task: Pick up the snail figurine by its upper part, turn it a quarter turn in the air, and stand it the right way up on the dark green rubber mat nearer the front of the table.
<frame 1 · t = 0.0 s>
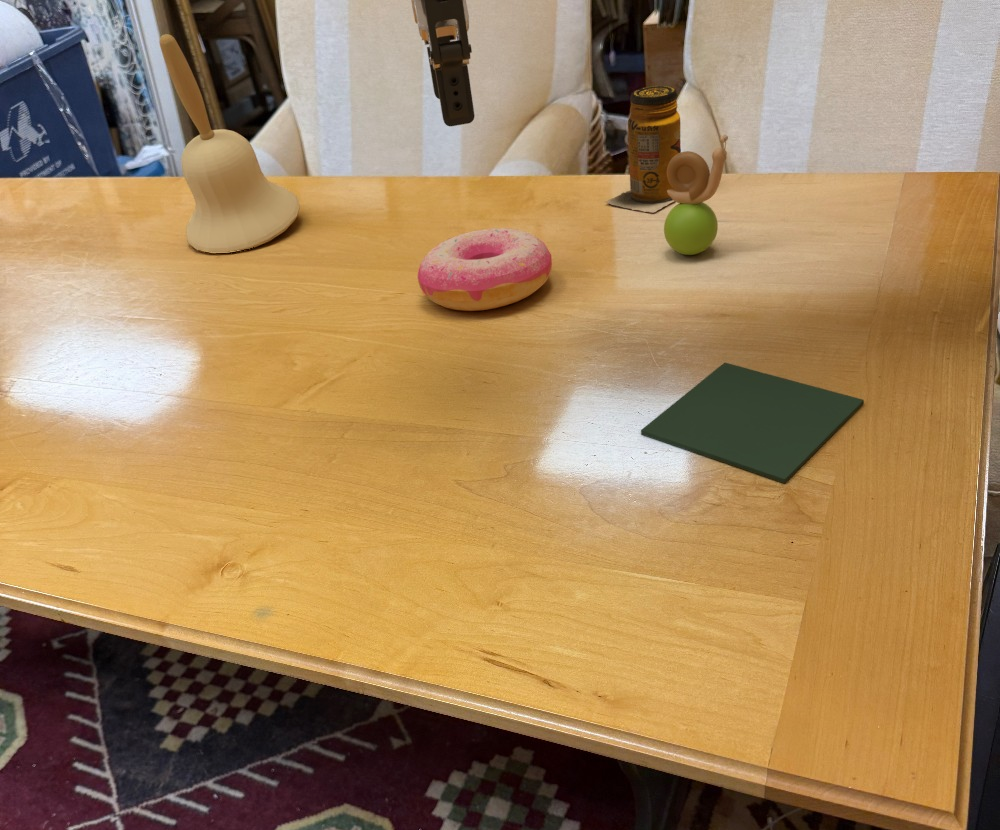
hand: (454, 109, 68), 22 cm above the table, tool pointing down, fingers open, 8 cm apart
donut: (489, 293, 95), on the table
handbell: (247, 233, 120), on the table
mat: (751, 419, 69), on the table
snail figurine: (695, 255, 95), on the table
condiment: (650, 199, 110), on the table
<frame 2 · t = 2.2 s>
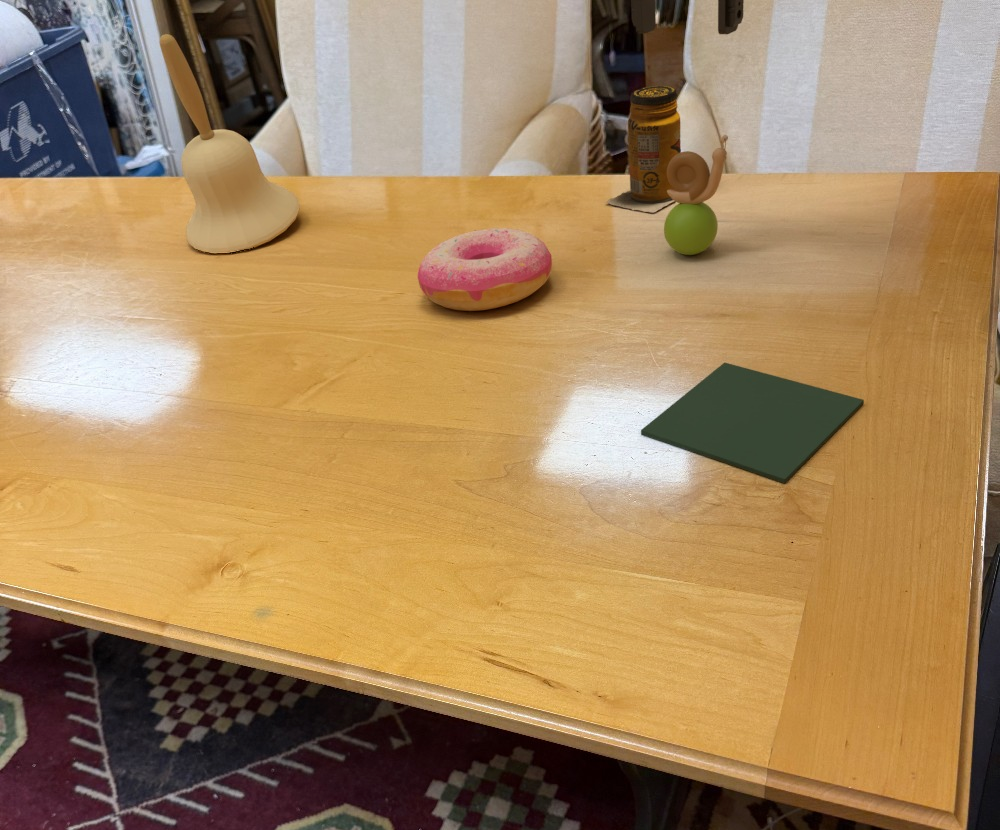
hand: (685, 32, 82), 21 cm above the table, tool pointing down, fingers open, 8 cm apart
nothing on the table moved.
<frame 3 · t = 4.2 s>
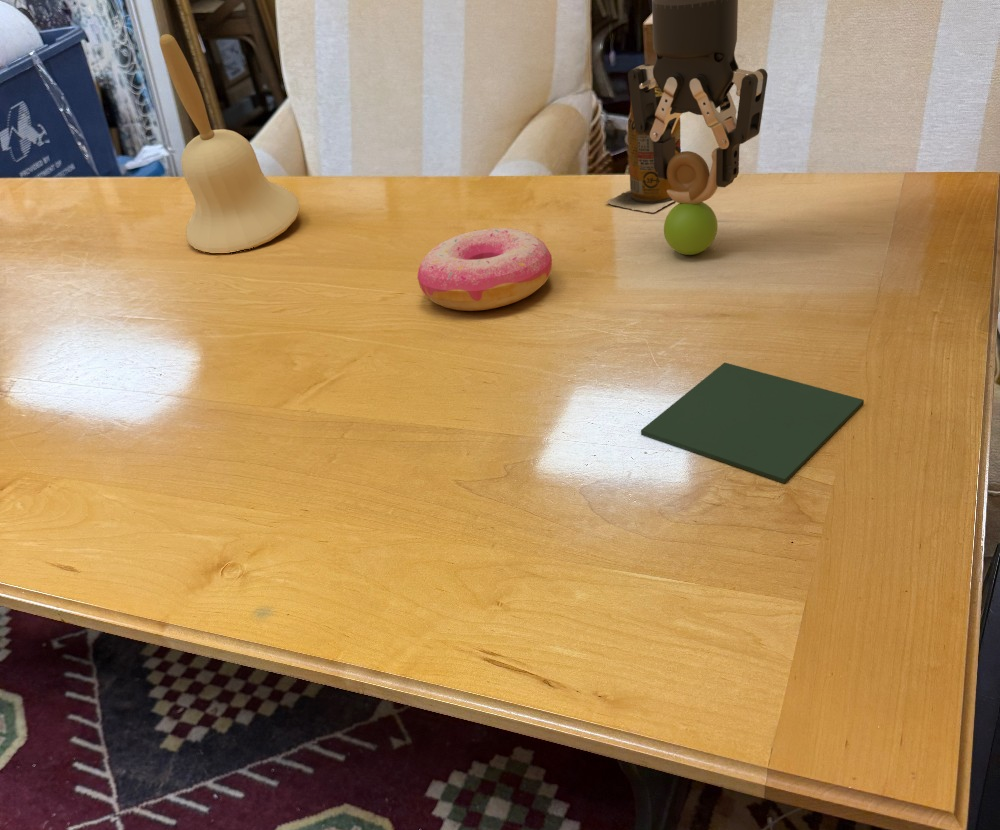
hand: (695, 180, 91), 8 cm above the table, tool pointing down, fingers closed on snail figurine, 6 cm apart
snail figurine: (695, 255, 95), on the table, touching gripper
everything else where it was.
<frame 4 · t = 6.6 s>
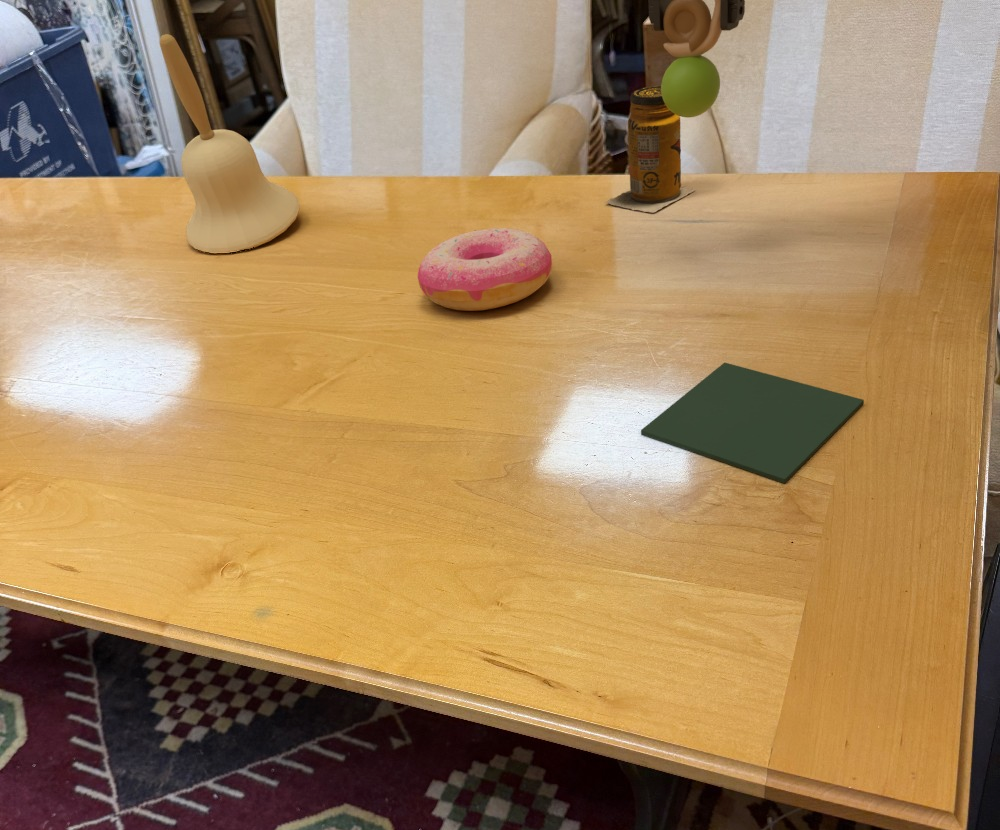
hand: (695, 28, 82), 21 cm above the table, tool pointing down, fingers closed on snail figurine, 6 cm apart
snail figurine: (695, 118, 87), point 14 cm above the table, touching gripper
everything else where it was.
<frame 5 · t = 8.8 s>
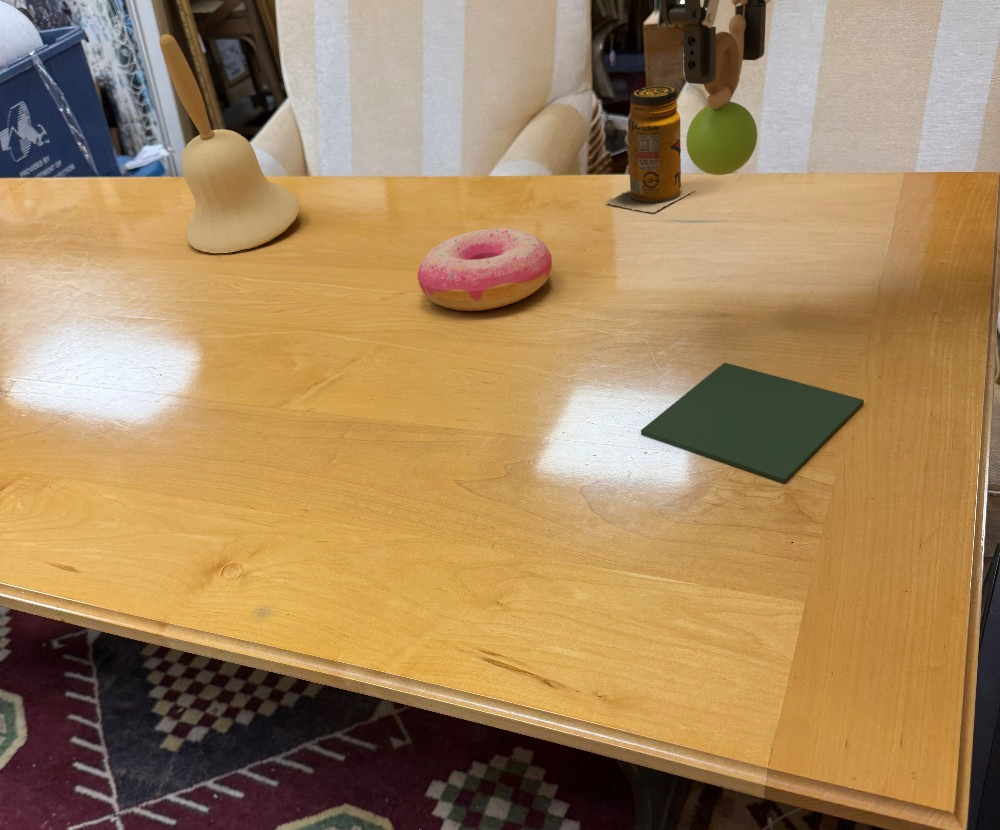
hand: (725, 69, 69), 22 cm above the table, tool pointing down, fingers closed on snail figurine, 6 cm apart
snail figurine: (723, 173, 74), point 14 cm above the table, touching gripper
everything else where it was.
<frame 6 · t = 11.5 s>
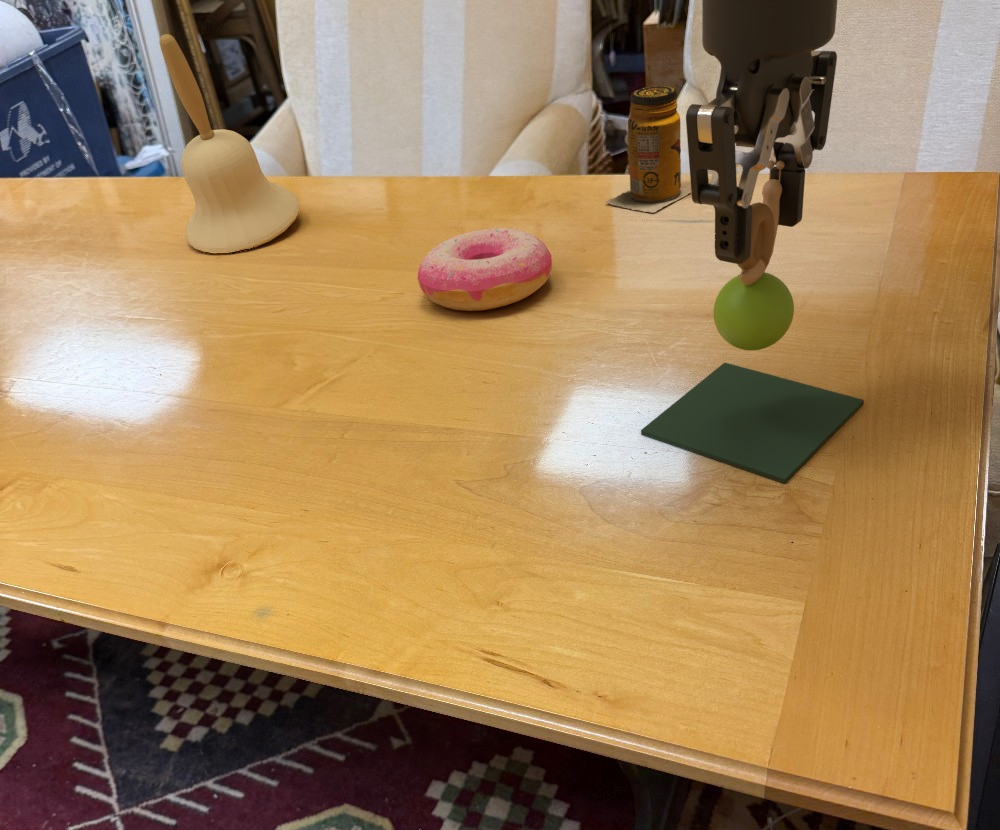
hand: (759, 240, 61), 14 cm above the table, tool pointing down, fingers closed on snail figurine, 6 cm apart
snail figurine: (754, 345, 66), point 6 cm above the table, touching gripper
everything else where it was.
when the fingers open (8 cm above the table, at t = 13.6 s): snail figurine stays where it is, resting on mat.
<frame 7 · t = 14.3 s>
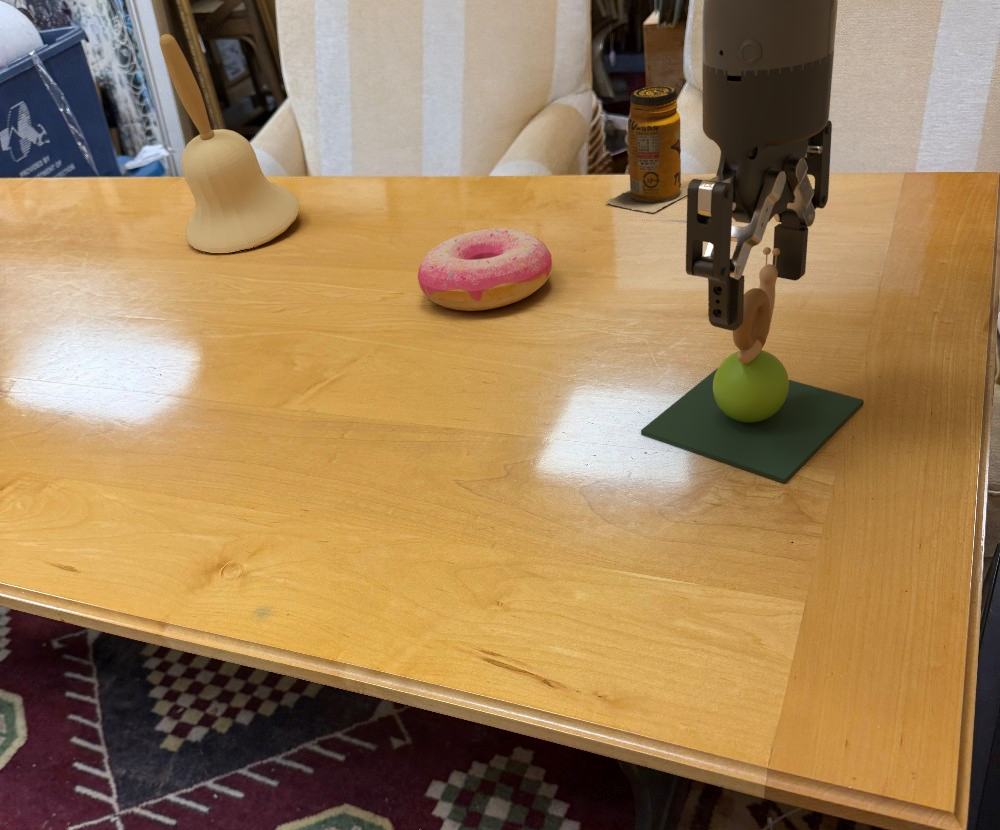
hand: (758, 301, 63), 10 cm above the table, tool pointing down, fingers open, 8 cm apart
snail figurine: (751, 415, 69), resting on mat
everything else where it was.
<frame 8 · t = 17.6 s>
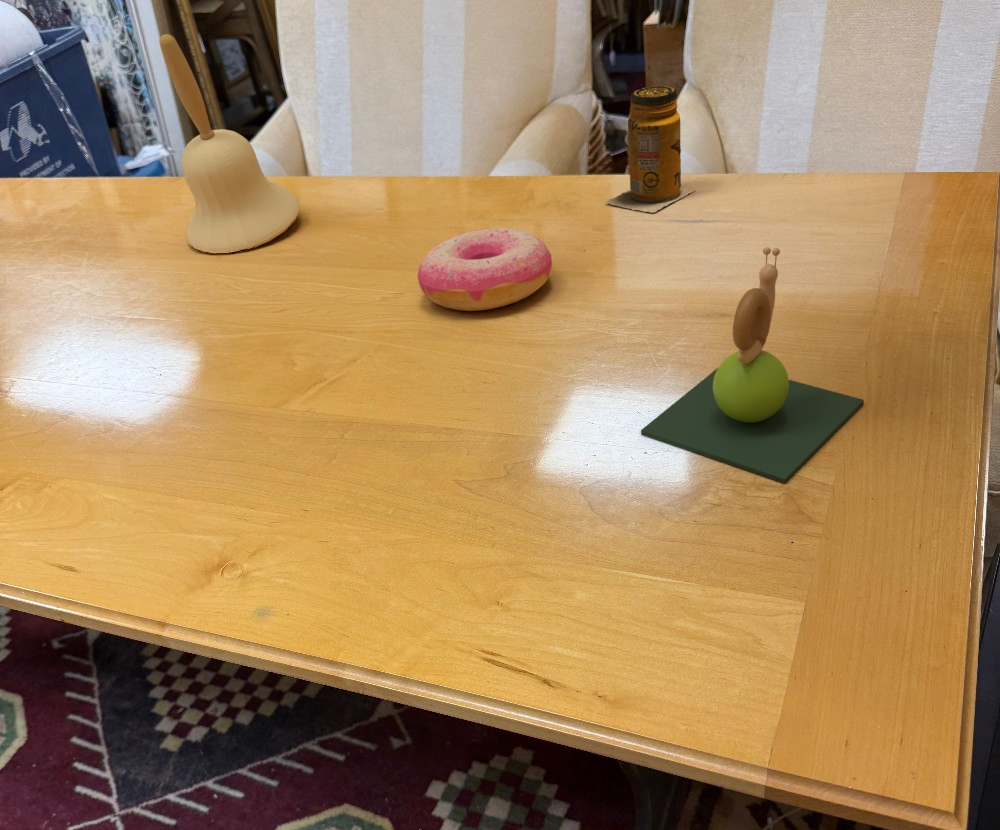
nothing on the table moved.
at the end: snail figurine inside the target area on the mat (0.1 cm from its centre), point 0.2 cm above the mat's base; snail figurine tilted 0°; the gripper is holding nothing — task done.
